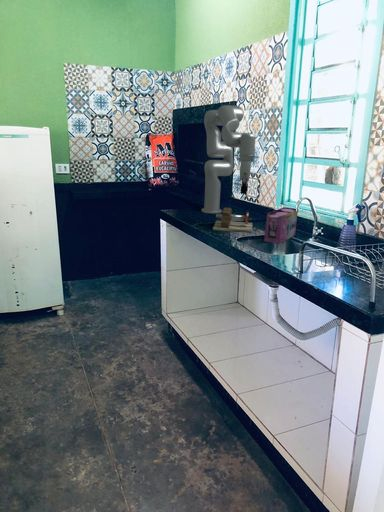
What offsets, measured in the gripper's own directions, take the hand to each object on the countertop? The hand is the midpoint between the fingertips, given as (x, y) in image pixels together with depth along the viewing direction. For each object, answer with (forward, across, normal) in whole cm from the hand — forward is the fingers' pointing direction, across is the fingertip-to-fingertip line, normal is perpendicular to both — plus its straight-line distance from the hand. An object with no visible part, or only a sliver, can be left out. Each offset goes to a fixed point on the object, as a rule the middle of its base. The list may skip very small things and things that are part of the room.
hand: (243, 192), depth 212 cm
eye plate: (+19, 0, -4) cm, 20 cm away
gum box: (+20, +15, +20) cm, 31 cm away
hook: (+17, 0, -4) cm, 17 cm away
